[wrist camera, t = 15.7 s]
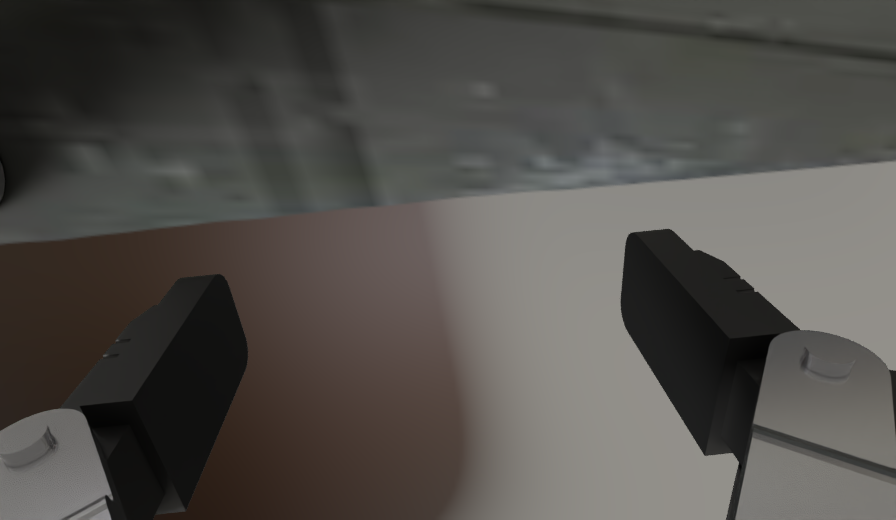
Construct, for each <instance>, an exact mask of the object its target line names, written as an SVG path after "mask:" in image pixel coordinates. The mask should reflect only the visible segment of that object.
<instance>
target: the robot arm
mask: <svg viewBox="0 0 896 520" xmlns="http://www.w3.org/2000/svg"><path fill="white" fill-rule="evenodd" d="M4 187H5V178H4V171H3V166H2V164H1V161H0V201H1V199H2V197H3V194H4ZM622 280H623V281H622V291H621V313H622V318H623V321H624V325H625V327H626V329H627V331H628V333H629V335H630V336H631V338H632V339H633V341H634V343H635V344H636V346H637V347H638V349H639V350H640V352H641V354H642V355H643V357H644V359H645V360H646V362H647V364H648V365H649V366H650V368H651V370H652V371H653V373H654V375H655V376H656V378H657V380H658V381H659V383H660V384H661V386H662V388H663V389H664V391H665V392H666V394H667V396H668V397H669V399H670V401H671V402H672V404H673V405H674V407H675V409H676V410H677V412H678V413H679V415H680V417H681V418H682V420H683V421H684V423H685V425H686V426H687V428H688V429H689V431H690V433H691V434H692V436H693V438H694V439H695V441H696V442H697V444H698V446H699V447H700V449H701V450H702V452H703V454H704V455H705V456H708V455H716V454H725V453H733V454H734V455H735V457H736V458H737V460H738V461H739V465H738V469H737V473H736V477H735V481H734V486H733V490H732V495H731V499H730V504H729V508H728V513H727V517H726V520H896V371H893V370H889V369H888V368H887V366H886V364H885V363H884V362H883V361H882V360H881V359H880V358H879V357H878V356H877V355H875V354H874V353H873V352H871V351H870V350H869V349H867V348H865V347H863V346H861V345H860V344H858V343H856V342H853V341H851V340H849V339H846V338H843V337H840V336H837V335H833V334H829V333H824V332H819V331H810V330H800V329H799V328H798V327H796V326H795V325H794V324H793V323H792V322H791V321H790V320H789V319H788V318H786V317H785V316H784V315H783V314H782V313H781V312H780V311H779V310H778V309H776V308H775V307H774V306H773V305H772V304H771V303H770V302H769V301H767V300H766V299H765V298H764V297H763V296H762V295H761V294H760V293H758V292H754V288H753V287H752V286H751V285H749V284H748V283H747V282H746V281H745V280H744V279H740V276H739V275H738V274H737V273H736V272H735V271H734V270H733V269H732V268H731V267H729V266H728V265H727V264H726V263H725V262H724V261H722V260H719V259H717V258H715V257H713V256H710V255H709V254H706V253H704V252H702V251H700V250H696V251H693V250H692V249H691V248H690V247H689V246H688V245H687V244H686V243H685V242H684V241H683V240H682V239H681V238H680V237H679V236H678V235H677V234H676V233H675V232H673V231H672V230H670V229H663V230H653V231H643V232H634V233H630V234H629V235H628V237H627V240H626V246H625V257H624V268H623V279H622ZM247 360H248V347H247V341H246V337H245V334H244V331H243V328H242V325H241V322H240V318H239V315H238V312H237V309H236V307H235V303H234V300H233V297H232V294H231V291H230V288H229V285H228V282H227V280H226V279H225V278H224V276H222V275H220V274H215V275H205V276H196V277H186V278H180V279H178V280H177V281H176V282H175V284H174V285H173V286H172V287H171V289H170V290H169V291H168V293H167V294H166V295H165V296H164V298H163V299H162V300H161V302H160V303H159V304H158V305H154V306H153V307H151V308H150V309H148V310H147V311H145V312H144V313H143V314H141V315H140V316H139V317H137V318H136V319H134V320H133V321H131V322H130V323H129V324H128V326H127V327H126V328H125V329H124V331H123V332H122V333H121V334H120V335H119V337H118V338H117V339H116V344H112V345H111V346H110V348H109V349H108V350H107V352H106V353H105V354H104V355H103V359H101V360H99V361H98V362H97V363H96V365H95V366H94V367H93V368H92V370H91V371H90V372H89V373H88V374H87V376H86V377H85V378H84V379H83V381H82V382H81V383H80V384H79V385H78V387H77V388H76V389H75V390H74V392H73V393H72V394H71V395H70V397H69V398H68V399H67V400H66V401H65V403H64V404H63V405H62V406H61V407H60V409H56V410H49V411H45V412H41V413H38V414H35V415H33V416H30V417H27V418H25V419H22V420H20V421H18V422H16V423H14V424H12V425H11V426H9V427H7V428H5V429H4V430H2V431H0V520H153V518H154V516H155V514H163V513H172V512H181V511H186V509H187V507H188V505H189V502H190V500H191V498H192V495H193V493H194V491H195V488H196V486H197V483H198V481H199V479H200V476H201V474H202V472H203V469H204V467H205V464H206V462H207V460H208V457H209V455H210V453H211V450H212V448H213V446H214V443H215V441H216V439H217V436H218V434H219V431H220V429H221V427H222V424H223V422H224V420H225V417H226V415H227V413H228V410H229V408H230V405H231V403H232V401H233V398H234V396H235V393H236V391H237V389H238V387H239V384H240V381H241V379H242V377H243V375H244V372H245V370H246V366H247Z"/></svg>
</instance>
